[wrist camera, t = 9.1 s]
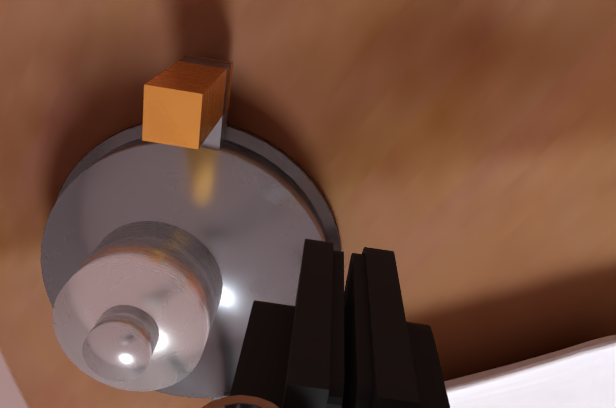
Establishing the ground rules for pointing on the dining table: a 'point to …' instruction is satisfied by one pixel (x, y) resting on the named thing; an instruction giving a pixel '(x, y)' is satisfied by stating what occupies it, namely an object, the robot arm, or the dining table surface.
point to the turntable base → (242, 139)
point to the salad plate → (544, 380)
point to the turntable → (192, 209)
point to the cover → (140, 307)
